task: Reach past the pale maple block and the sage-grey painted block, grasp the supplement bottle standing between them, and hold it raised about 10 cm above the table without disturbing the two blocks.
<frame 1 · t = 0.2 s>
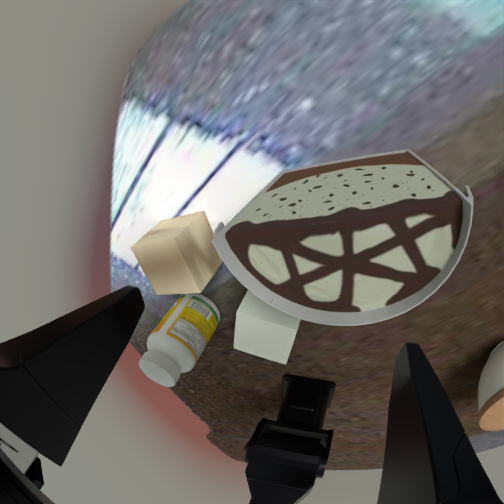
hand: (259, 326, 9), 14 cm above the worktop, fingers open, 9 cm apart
supplement bottle: (200, 307, 32), on the worktop
maple block: (192, 239, 27), on the worktop
grey painted block: (277, 301, 28), on the worktop
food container: (353, 198, 20), on the worktop
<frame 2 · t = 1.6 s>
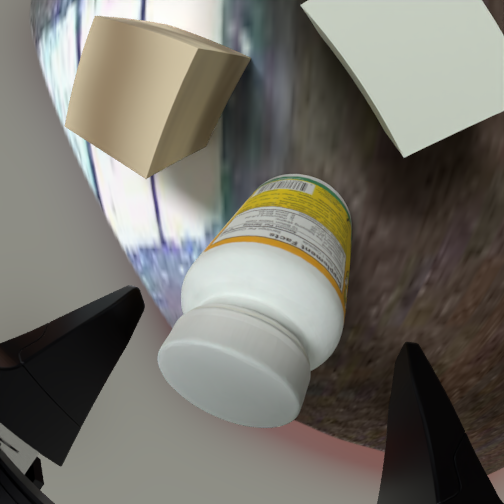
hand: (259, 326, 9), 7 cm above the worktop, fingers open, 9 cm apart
supplement bottle: (299, 221, 15), on the worktop
maple block: (185, 82, 12), on the worktop
grey painted block: (401, 57, 9), on the worktop
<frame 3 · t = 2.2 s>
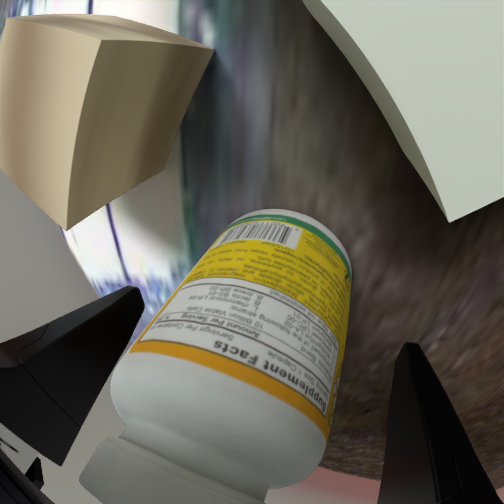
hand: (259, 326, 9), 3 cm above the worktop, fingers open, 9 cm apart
supplement bottle: (284, 266, 11), on the worktop
maple block: (135, 87, 9), on the worktop
grey painted block: (427, 46, 6), on the worktop
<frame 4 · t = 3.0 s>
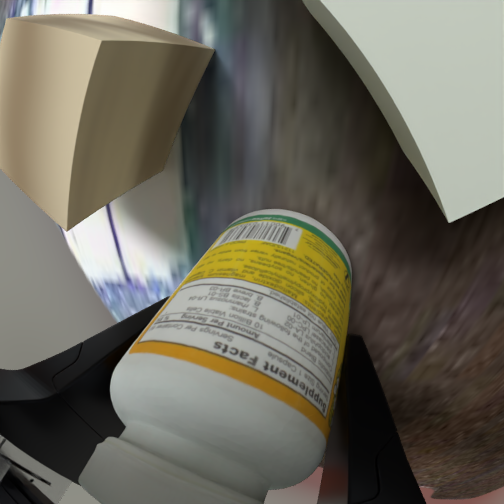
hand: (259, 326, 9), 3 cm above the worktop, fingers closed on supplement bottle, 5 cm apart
supplement bottle: (284, 267, 11), on the worktop, touching gripper
maple block: (135, 87, 9), on the worktop
grey painted block: (427, 46, 6), on the worktop
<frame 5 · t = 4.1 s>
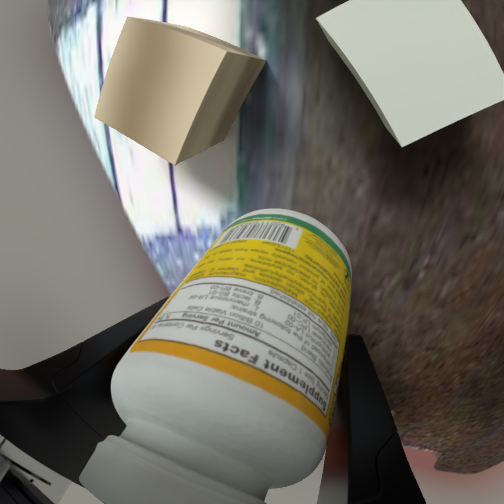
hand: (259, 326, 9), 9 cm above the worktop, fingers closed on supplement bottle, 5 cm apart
supplement bottle: (284, 266, 11), point 5 cm above the worktop, touching gripper
maple block: (205, 81, 14), on the worktop
grey painted block: (400, 61, 10), on the worktop
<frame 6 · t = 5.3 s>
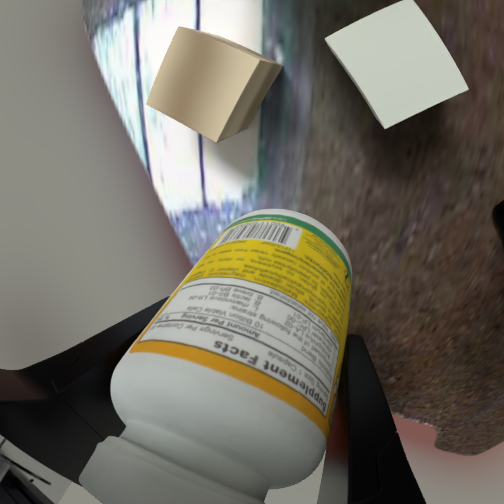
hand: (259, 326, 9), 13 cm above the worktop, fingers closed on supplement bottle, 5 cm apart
supplement bottle: (284, 266, 11), point 10 cm above the worktop, touching gripper
maple block: (232, 80, 17), on the worktop
grey painted block: (387, 67, 13), on the worktop
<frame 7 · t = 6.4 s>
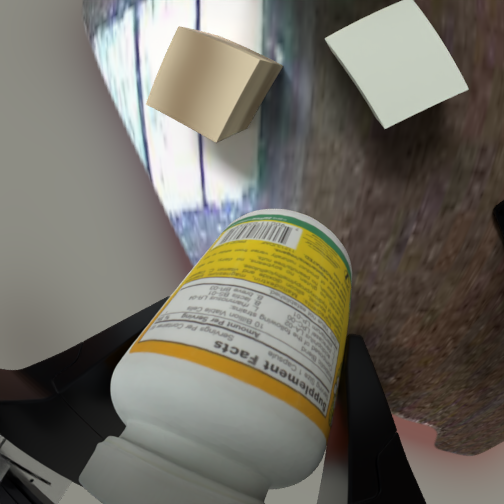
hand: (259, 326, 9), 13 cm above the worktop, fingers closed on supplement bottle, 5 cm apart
supplement bottle: (284, 266, 11), point 10 cm above the worktop, touching gripper
maple block: (232, 80, 17), on the worktop
grey painted block: (387, 67, 13), on the worktop
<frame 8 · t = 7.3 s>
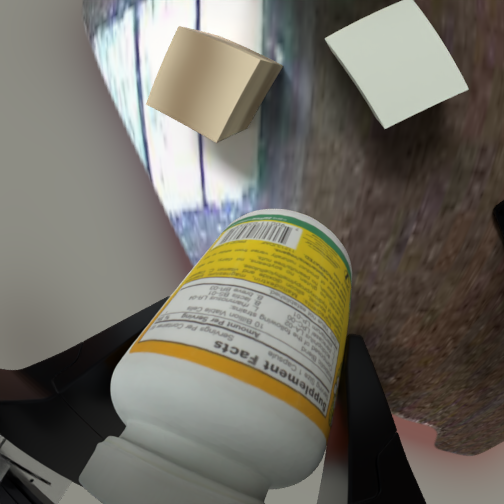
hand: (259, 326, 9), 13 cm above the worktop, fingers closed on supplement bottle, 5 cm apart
supplement bottle: (284, 266, 11), point 10 cm above the worktop, touching gripper
maple block: (232, 80, 17), on the worktop
grey painted block: (387, 67, 13), on the worktop
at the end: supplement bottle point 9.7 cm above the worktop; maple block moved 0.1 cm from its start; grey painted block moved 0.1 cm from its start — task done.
